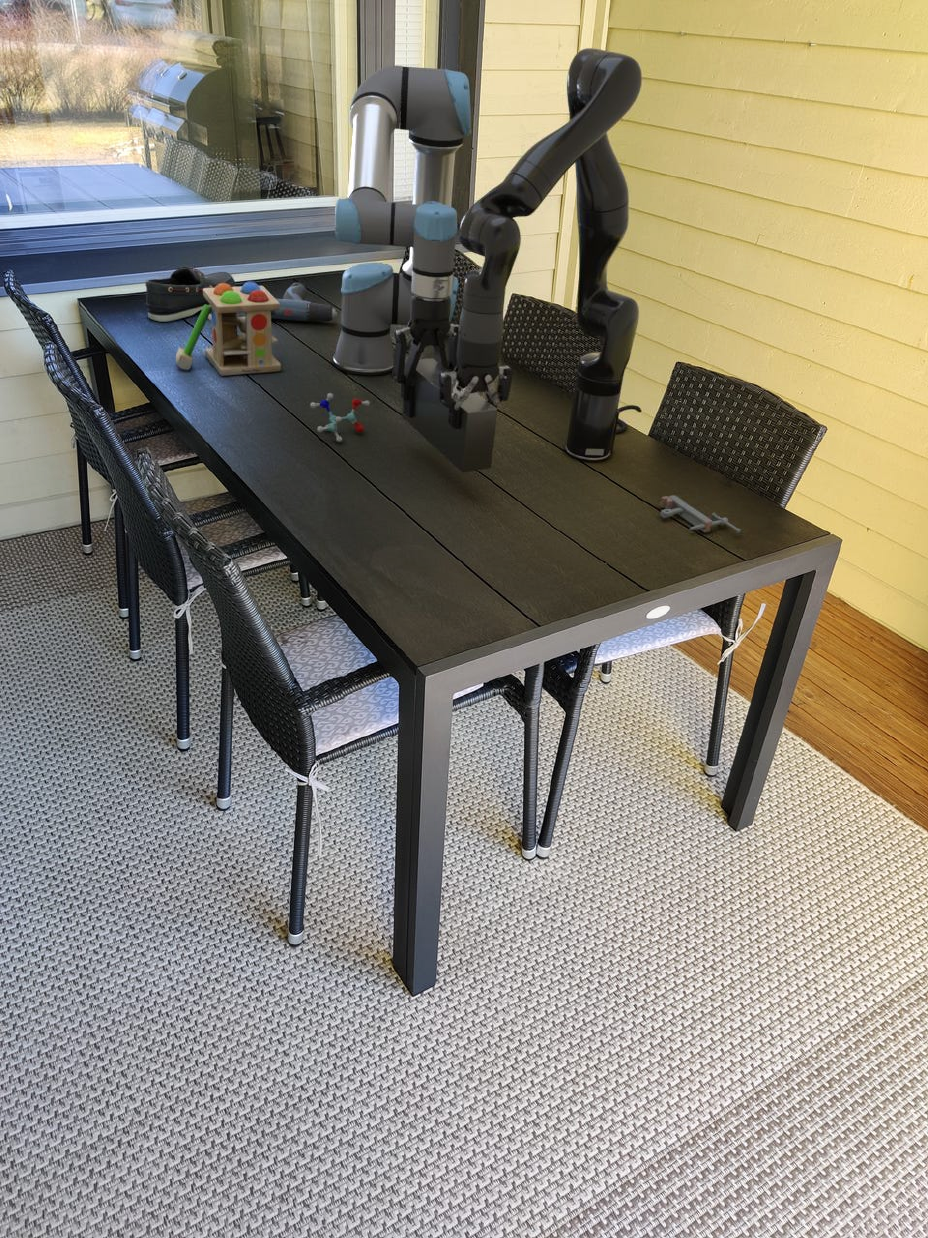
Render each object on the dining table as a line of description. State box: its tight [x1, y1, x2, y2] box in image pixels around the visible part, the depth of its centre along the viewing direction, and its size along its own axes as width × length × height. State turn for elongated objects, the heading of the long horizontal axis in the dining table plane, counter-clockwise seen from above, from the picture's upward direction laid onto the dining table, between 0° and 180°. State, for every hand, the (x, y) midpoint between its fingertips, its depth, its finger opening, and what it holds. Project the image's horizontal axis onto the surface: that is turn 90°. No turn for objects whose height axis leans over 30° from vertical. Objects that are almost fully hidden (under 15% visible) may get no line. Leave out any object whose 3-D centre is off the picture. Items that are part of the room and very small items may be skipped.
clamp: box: [659, 494, 742, 534], centre depth 183 cm, size 15×2×10 cm
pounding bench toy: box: [174, 281, 282, 377], centre depth 225 cm, size 23×14×18 cm, turn 116°
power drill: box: [271, 282, 338, 322], centre depth 265 cm, size 5×19×20 cm
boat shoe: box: [144, 265, 237, 323], centre depth 261 cm, size 13×33×10 cm, turn 147°
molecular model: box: [309, 392, 371, 443], centre depth 201 cm, size 12×10×10 cm
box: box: [401, 357, 498, 473], centre depth 185 cm, size 26×6×12 cm, turn 28°
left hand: (423, 412), depth 194 cm, fingers closed on box, 6 cm apart
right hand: (471, 424), depth 177 cm, fingers open, 6 cm apart
